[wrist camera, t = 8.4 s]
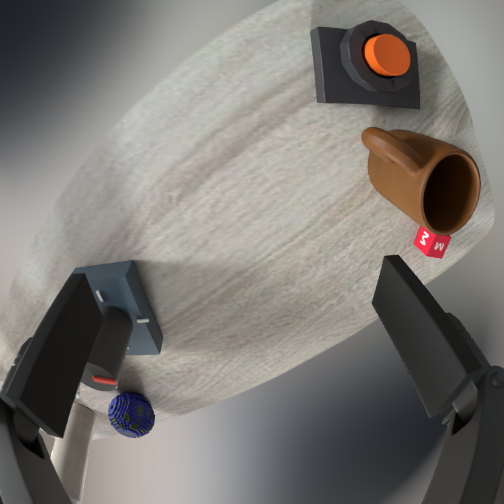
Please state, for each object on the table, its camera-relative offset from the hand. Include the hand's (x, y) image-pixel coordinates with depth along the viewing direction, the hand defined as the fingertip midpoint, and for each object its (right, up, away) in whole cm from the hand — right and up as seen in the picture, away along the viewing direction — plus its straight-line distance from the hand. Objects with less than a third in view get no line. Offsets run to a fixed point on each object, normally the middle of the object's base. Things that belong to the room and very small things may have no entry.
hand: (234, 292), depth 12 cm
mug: (+14, +12, +13) cm, 22 cm away
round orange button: (+11, +18, +5) cm, 22 cm away
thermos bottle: (-37, -34, +35) cm, 61 cm away
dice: (+22, +4, +19) cm, 29 cm away
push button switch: (+11, +19, +9) cm, 23 cm away
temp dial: (-15, -6, +17) cm, 24 cm away
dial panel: (-15, -5, +20) cm, 26 cm away
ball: (-20, -24, +31) cm, 44 cm away
